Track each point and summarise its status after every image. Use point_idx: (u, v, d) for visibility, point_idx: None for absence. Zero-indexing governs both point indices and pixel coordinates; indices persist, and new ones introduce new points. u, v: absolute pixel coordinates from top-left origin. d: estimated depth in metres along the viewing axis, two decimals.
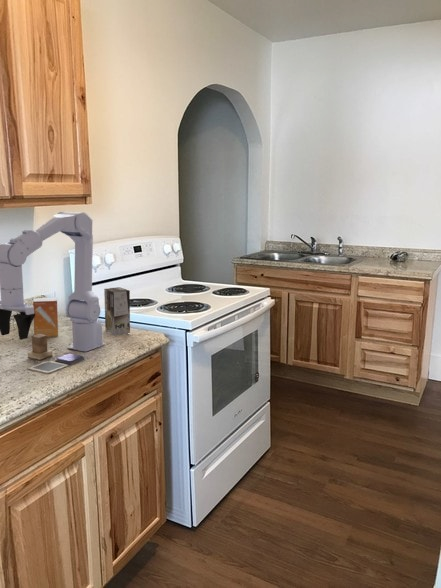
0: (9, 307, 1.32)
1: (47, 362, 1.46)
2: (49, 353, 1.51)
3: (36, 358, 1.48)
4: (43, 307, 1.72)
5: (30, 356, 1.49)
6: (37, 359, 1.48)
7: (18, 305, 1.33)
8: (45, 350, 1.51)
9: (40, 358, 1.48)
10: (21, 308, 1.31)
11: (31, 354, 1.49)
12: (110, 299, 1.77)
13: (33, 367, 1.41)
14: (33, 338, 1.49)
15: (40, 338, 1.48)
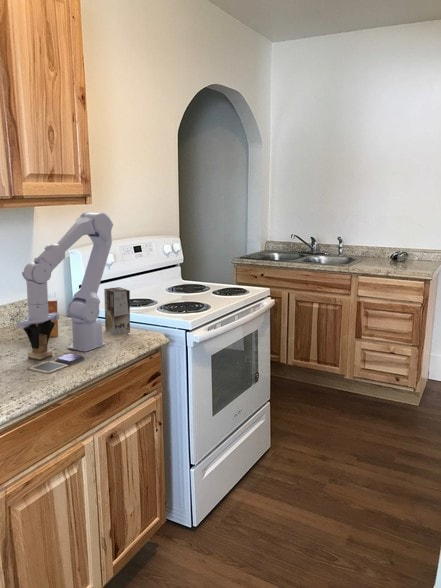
0: None
1: (47, 362, 1.46)
2: (49, 353, 1.51)
3: (36, 358, 1.48)
4: None
5: (30, 356, 1.49)
6: (37, 359, 1.48)
7: (29, 318, 1.46)
8: (45, 350, 1.51)
9: (40, 358, 1.48)
10: None
11: (31, 354, 1.49)
12: (110, 299, 1.77)
13: (33, 367, 1.41)
14: None
15: (40, 338, 1.48)
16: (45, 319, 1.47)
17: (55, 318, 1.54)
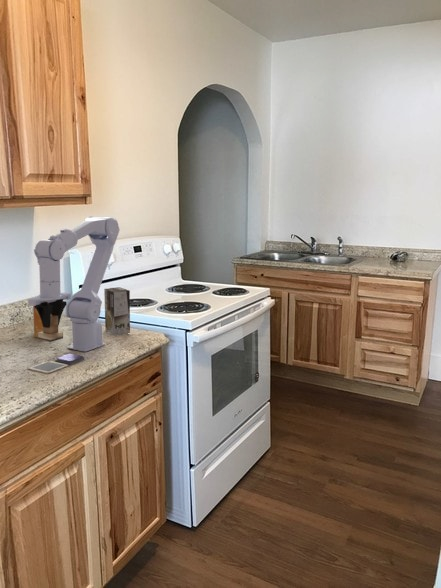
0: None
1: (47, 362, 1.46)
2: (60, 334, 1.48)
3: (46, 338, 1.46)
4: None
5: (40, 336, 1.47)
6: (47, 339, 1.45)
7: (41, 296, 1.44)
8: (56, 331, 1.48)
9: (50, 338, 1.45)
10: None
11: (41, 334, 1.46)
12: (110, 299, 1.77)
13: (33, 367, 1.41)
14: None
15: (51, 318, 1.46)
16: (57, 297, 1.45)
17: (67, 298, 1.51)
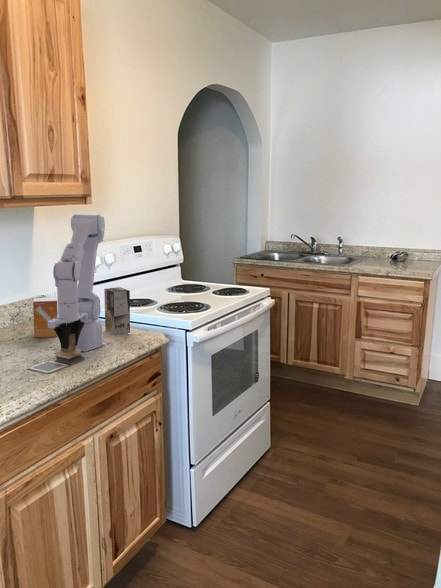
0: None
1: (47, 362, 1.46)
2: (77, 352, 1.48)
3: (65, 357, 1.46)
4: (43, 307, 1.72)
5: (58, 355, 1.47)
6: (66, 358, 1.46)
7: (60, 318, 1.44)
8: (73, 349, 1.48)
9: (69, 357, 1.45)
10: None
11: (59, 353, 1.46)
12: (110, 299, 1.77)
13: (33, 367, 1.41)
14: None
15: (69, 337, 1.46)
16: (75, 319, 1.45)
17: (84, 318, 1.51)
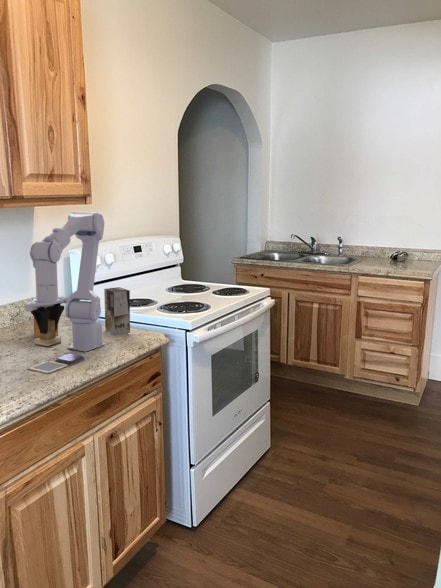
0: None
1: (47, 362, 1.46)
2: (57, 339, 1.41)
3: (44, 344, 1.39)
4: None
5: (37, 343, 1.40)
6: (45, 345, 1.39)
7: (38, 301, 1.37)
8: (53, 336, 1.41)
9: (48, 344, 1.38)
10: None
11: (38, 340, 1.40)
12: (110, 299, 1.77)
13: (33, 367, 1.41)
14: None
15: (48, 323, 1.39)
16: (54, 302, 1.38)
17: (65, 302, 1.45)
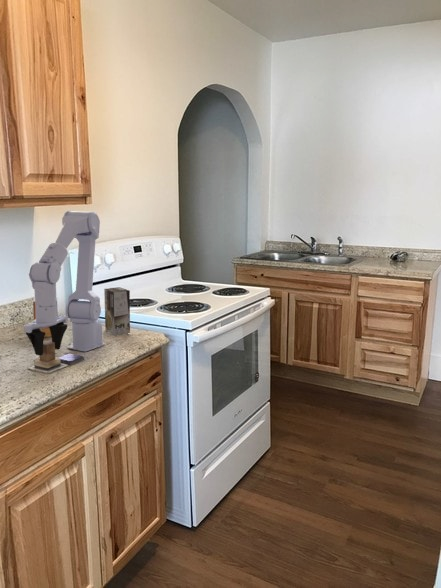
0: None
1: None
2: (57, 361, 1.42)
3: (43, 367, 1.40)
4: None
5: (37, 364, 1.41)
6: (44, 368, 1.40)
7: (37, 322, 1.37)
8: (53, 358, 1.42)
9: (48, 367, 1.39)
10: None
11: (38, 362, 1.40)
12: (110, 299, 1.77)
13: (33, 367, 1.41)
14: None
15: (48, 345, 1.40)
16: (54, 322, 1.38)
17: (64, 321, 1.45)
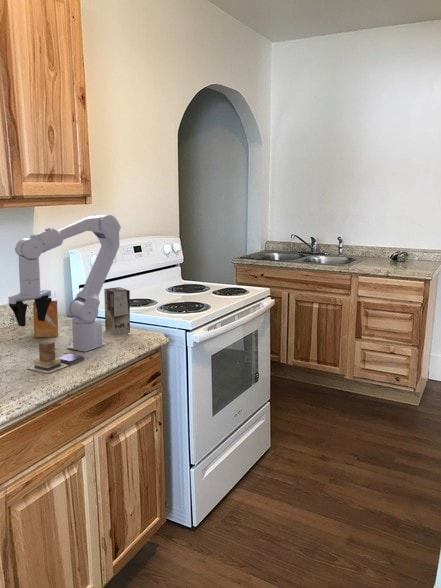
0: None
1: None
2: (57, 361, 1.42)
3: (43, 367, 1.40)
4: None
5: (37, 364, 1.41)
6: (44, 368, 1.40)
7: (21, 294, 1.46)
8: (53, 358, 1.42)
9: (48, 367, 1.39)
10: None
11: (38, 362, 1.40)
12: (110, 299, 1.77)
13: (33, 367, 1.41)
14: (41, 346, 1.40)
15: (48, 345, 1.40)
16: (37, 295, 1.47)
17: (47, 295, 1.54)
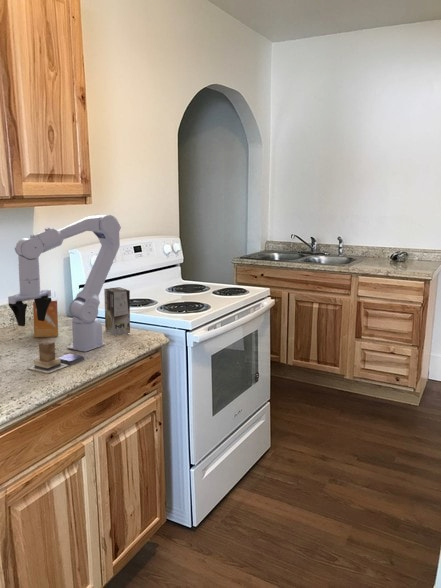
0: None
1: None
2: (57, 361, 1.42)
3: (43, 367, 1.40)
4: None
5: (37, 364, 1.41)
6: (44, 368, 1.40)
7: (21, 294, 1.47)
8: (53, 358, 1.42)
9: (48, 367, 1.39)
10: None
11: (38, 362, 1.40)
12: (110, 299, 1.77)
13: (33, 367, 1.41)
14: (41, 346, 1.40)
15: (48, 345, 1.40)
16: (37, 295, 1.48)
17: (47, 295, 1.54)
